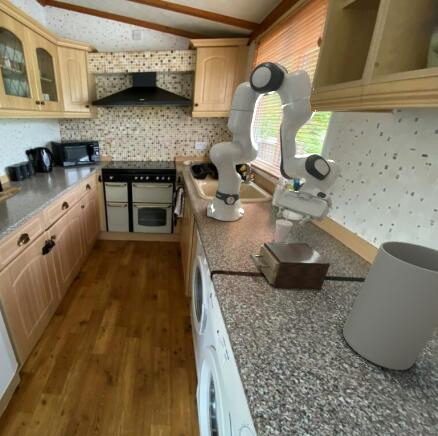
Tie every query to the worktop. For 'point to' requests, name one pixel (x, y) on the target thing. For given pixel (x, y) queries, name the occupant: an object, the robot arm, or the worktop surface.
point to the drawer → (266, 263)
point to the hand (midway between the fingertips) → (288, 220)
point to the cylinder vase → (395, 306)
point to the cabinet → (298, 265)
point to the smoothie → (282, 230)
